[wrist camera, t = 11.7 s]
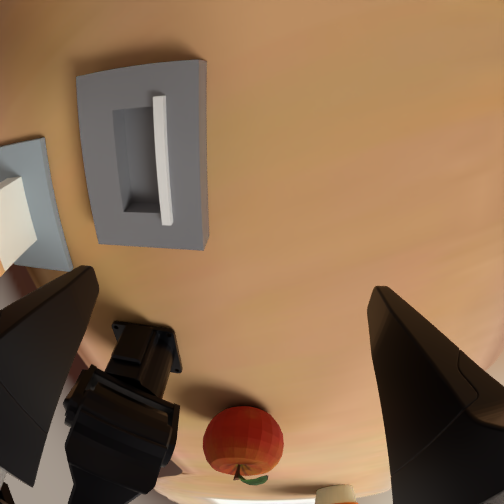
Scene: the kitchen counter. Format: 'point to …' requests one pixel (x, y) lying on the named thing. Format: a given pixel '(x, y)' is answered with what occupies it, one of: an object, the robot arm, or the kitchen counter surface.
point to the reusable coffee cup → (336, 495)
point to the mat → (37, 203)
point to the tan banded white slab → (14, 222)
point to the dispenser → (146, 153)
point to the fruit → (243, 443)
